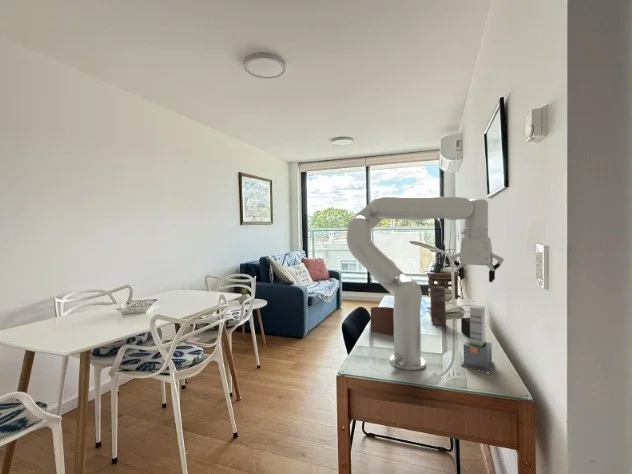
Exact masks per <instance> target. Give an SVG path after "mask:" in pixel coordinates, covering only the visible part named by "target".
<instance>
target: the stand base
mask: <svg viewBox="0 0 632 474" xmlns="http://www.w3.org/2000/svg"><path fill="white" fill-rule="evenodd" d="M492 344H493V343H492V342H487V341H486V344H485V345H484V346H483V348H482V347H478V346H473V345H470V338H468V339H467V341H466V342H465V343H464V344H463V361H462V363H461V365H460V366H461V367H462V368H463V367H464V368H467V369H470V368H472V369H471V370H474V369H476V370H475V371H477V370H480V371H479V372H481V371H484V372H483V373H485V372H489V371H490V370H492V369H493V368H494V366H495V361H493V358H492V356H493V355H492V354H493V353H492V350H493V349H492ZM492 367H493V368H492ZM491 368H492V369H491ZM490 372H491V371H490ZM490 372H489V373H490Z"/></svg>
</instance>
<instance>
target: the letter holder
mask: <svg viewBox="0 0 632 474" xmlns="http://www.w3.org/2000/svg"><path fill="white" fill-rule="evenodd" d="M393 312H394V307H387V306H372V307H371V308H370V332H374V333H378V334H382V335H388V336H393V337H394V319H393Z"/></svg>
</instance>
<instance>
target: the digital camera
mask: <svg viewBox="0 0 632 474" xmlns="http://www.w3.org/2000/svg"><path fill="white" fill-rule="evenodd" d="M460 319H461V321H460V322H461V327H460V328H461V330H460V331H461V333H462V334H464V335H465V336H466V337H468V338H470V317H461V318H460Z"/></svg>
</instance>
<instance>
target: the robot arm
mask: <svg viewBox="0 0 632 474" xmlns="http://www.w3.org/2000/svg"><path fill="white" fill-rule="evenodd" d="M385 219H386V220H410V221H413V220H414V221H417V220H418V221H421V220H428V219H429V220H430V219H446V220H448V221H457V220H464V229H463V230H462V229H461V230H460V234H461V235H463V236H464V237H461V241H460V242H461V243H460V248H459V249H460V251H459V253H456V254H453V255H452V256H451V257H450V259H451V260H452V263H453V265H455V266H456V268H457V270H458V277H459V280H461V281H462V280H464V279H465V268H464V267H465V266H466V265H471V266H487V268H489V271H488V282H489V283H493V282H494V280H496V279H495V278H496V270H497V269H498V268H499V267H501V265H502V264H503V262H504V258H503V257H501V256H499V255H497V254H495V253H493V247H492V242H491V241H492V240H491V237H489V201H488V200H487V199H485V198H484V199H483V198H477V199H476V198H475V199H468V198H467V197H462V196H461V197H459V196H423V195H421V196H414V195H413V196H408V195H407V196H406V195H379V196H377V197H375V198H374V199H372V200H371V201H370V202H369V203H368V204H367V205H365V206H364V207H363V209H362V210H360V211H359V212H358V213H356V214H355V215H354V216H353V217H352V218H351V219H349V221H348V222H347V225H346V230H347V232H346V242H347V243H346V244H347V247H348V250H349V252H350V254H351V255H352V256H353V257H354V259H355V260H357V262H358V263H359V264H360V265H361V266H363V268H364V269H365V270H367V272H369V275H370V276H371V277H372V278H373V279H374V280H376V282H377V283H378V284H380V285H381V286H382V287H383V288H384V289H385V290H387V291H388V293H390V294H391V296H393V301H394V302H393V308H394V312H393V319H394V336H393V354H392V355H391V356H390V358H389V364H390V365H391V366H393V367H395V368H397V369H400V370H405V371H418V370H421V369H424V368H425V367H426V360H425V359H424V358H423V357H422V346H421V345H422V344H421V343H422V342H421V341H422V339H421V338H422V337H421V336H422V335H421V334H422V333H421V331H422V330H421V309H422V307H421V306H422V298H423V296H422V294H423V293H422V289H421V286H420V284H419V283H418V282H417V281H416V280H414V279H413V278H412V277H409V276H407V274H406V273H404V272H403V271H402V270H401V269H400V268H399V267H397V265H396V263H395V261H393V260H392V259H390V258H389V257H388V256H387V255H385V253H383V252H382V251H381V250H380V249H379V248H378V247H377V246H376V245H375V243H374V242H373V241H372V239H371V232H372V230H373V229H375V227H376V226H377V225H379V224H380V223H381V222H382V221H383V220H385ZM458 258H459V261H458ZM493 259H494V260H496V261H497V262H496V263H495V264H493V261H494V260H493Z"/></svg>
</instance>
